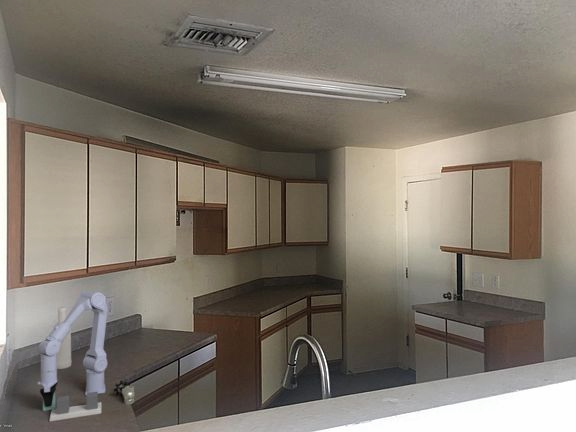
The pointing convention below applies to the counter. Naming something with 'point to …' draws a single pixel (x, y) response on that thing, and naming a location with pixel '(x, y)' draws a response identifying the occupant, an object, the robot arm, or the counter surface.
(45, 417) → the counter surface
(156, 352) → the counter surface
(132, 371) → the counter surface
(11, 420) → the counter surface
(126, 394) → the valve
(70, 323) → the robot arm
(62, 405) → the rail plate
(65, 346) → the bottle
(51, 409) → the block
